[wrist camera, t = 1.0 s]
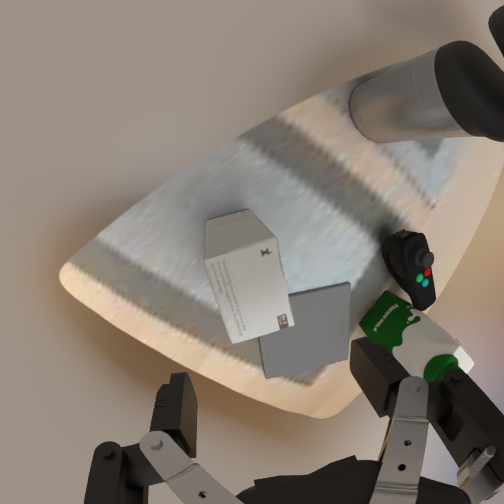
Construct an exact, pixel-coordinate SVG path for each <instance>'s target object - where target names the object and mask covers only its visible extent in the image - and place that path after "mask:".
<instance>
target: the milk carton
mask: <svg viewBox="0 0 504 504" xmlns="http://www.w3.org/2000/svg"><path fill="white" fill-rule="evenodd" d="M359 325H360V326H361V328H362V329H363V331H364V332H365V334H366V335H367V337H368V338H369V339H370V340H371V341H372V343H373V344H375V343H379V344H381V345H383V346H385V347H386V348H387V349H388V350H389V351H390V352H391V354H392V355H393V356H394V357H395V358H396V359H397V360H398V361H399V362H400V364H401V365H402V366H403V367H404V368H405V369H406V370H407V371H408V373H409V374H410V375H411V376H418V377H421V378H423V379H425V380H426V381H427V382H429V381H435V380H440V379H442V378H443V375H444V373H445V372H446V371H448V370H450V369H460V370H462V371H464V372H465V373H466V374H467V373H468V372H469V370H470V369H471V368H472V367H473V365H474V362H473V361H472V360H471V357H470V355H469V354H468V352H467V351H466V350H465V348H464V347H463V346H462V345H461V344H460V343H459V342H458V340H457V339H454V338H453V337H452V336H451V335H450V334H449V333H448V332H447V331H446V330H445V329H443V328H442V327H441V326H439V325H438V324H437V323H436V322H435V321H433V320H432V319H431V318H429V317H428V316H427V315H426V314H424V313H423V312H422V311H419V310H417V309H415V308H414V307H413V305H412V304H410V303H409V302H407V301H405V300H403V299H401V298H399V297H397V296H396V295H394V294H392V293H390V292H388V291H385V292H384V294H383V295H382V296H381V298H380V299H379V300H378V301H377V303H376V304H375V305H374V306H373V308H372V309H371V310H370V311H369V313H368V314H367V315H366V316H365V317H364V319H363V320H362V321H361V322H360V323H359ZM456 340H457V342H458V343H459V344H458V343H457V342H456Z"/></svg>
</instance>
